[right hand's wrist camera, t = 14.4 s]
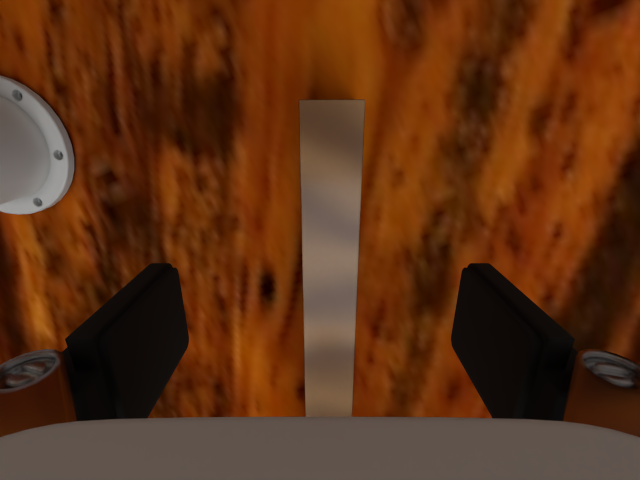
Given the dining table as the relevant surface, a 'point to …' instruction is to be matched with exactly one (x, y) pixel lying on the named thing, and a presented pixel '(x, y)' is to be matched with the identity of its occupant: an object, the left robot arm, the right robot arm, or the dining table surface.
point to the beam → (330, 249)
